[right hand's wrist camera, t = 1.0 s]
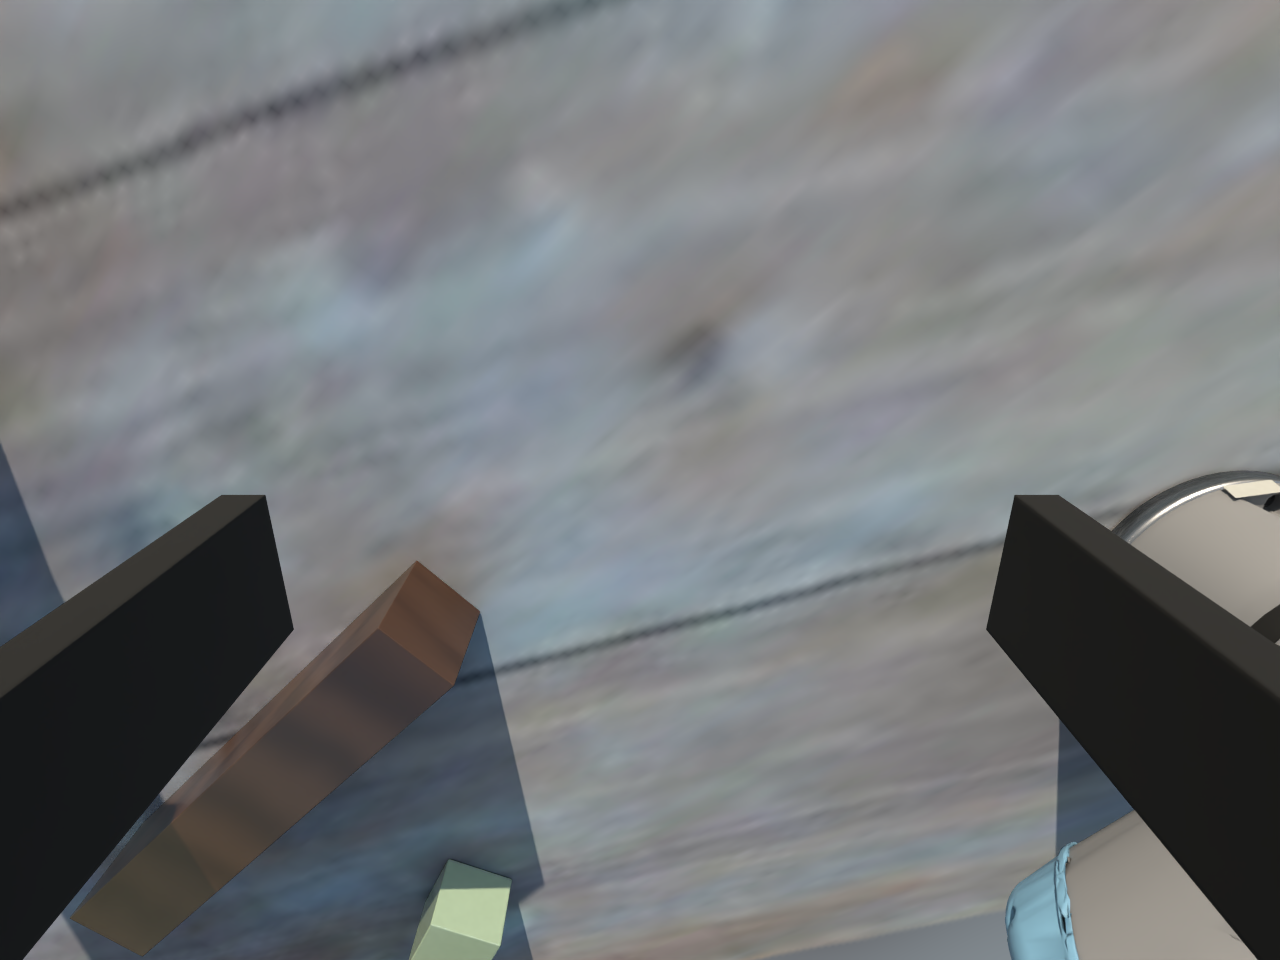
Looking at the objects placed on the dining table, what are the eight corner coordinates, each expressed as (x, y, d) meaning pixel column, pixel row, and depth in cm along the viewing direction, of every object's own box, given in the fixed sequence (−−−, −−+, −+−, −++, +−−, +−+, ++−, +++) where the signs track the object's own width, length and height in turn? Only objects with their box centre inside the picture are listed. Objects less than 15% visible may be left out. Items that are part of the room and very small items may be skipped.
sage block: (512, 878, 52) (501, 946, 47) (487, 920, 53) (474, 989, 49) (448, 858, 51) (430, 924, 46) (425, 901, 52) (405, 970, 48)
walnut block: (417, 560, 41) (378, 627, 35) (480, 611, 43) (454, 685, 36) (143, 822, 49) (69, 918, 42) (204, 859, 50) (142, 957, 44)
